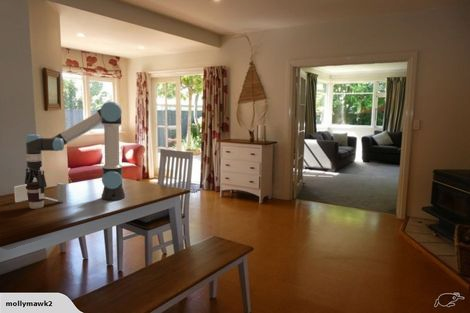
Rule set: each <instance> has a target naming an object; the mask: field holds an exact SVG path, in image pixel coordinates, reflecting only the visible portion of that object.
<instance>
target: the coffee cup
mask: <svg viewBox="0 0 470 313" xmlns="http://www.w3.org/2000/svg"><path fill="white" fill-rule="evenodd" d="M45 188H46V187H44V189H45ZM26 189H27V195H28V200H27V201H28V205H29V208H30V209H32V210H33V209H40V208H44V206H45V205H44V204H45V199H44V198H43V199H39V185H38V182H31V183H29V184H28V185H27V186H26Z"/></svg>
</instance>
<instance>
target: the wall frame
mask: <svg viewBox="0 0 470 313" xmlns="http://www.w3.org/2000/svg"><path fill="white" fill-rule="evenodd" d="M33 182H37V180H36V178H35V177H34V179H33ZM56 189H57V192H56V193H57V199H55V198H51V197H47V196H44V200H45V199H46V200H49V201H53V202H57V203H62V204H65V203H66V202H67V189H66V183H63V182H58V183H56Z"/></svg>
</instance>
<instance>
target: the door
mask: <svg viewBox="0 0 470 313" xmlns="http://www.w3.org/2000/svg"><path fill="white" fill-rule="evenodd" d="M26 186H27V184H25V183H24V184H20V185H16V186H13V190H14V203H21V202H25V201H28V195H27V189H26Z"/></svg>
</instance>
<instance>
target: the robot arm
mask: <svg viewBox="0 0 470 313" xmlns="http://www.w3.org/2000/svg"><path fill="white" fill-rule="evenodd" d="M100 125H102V126H103V127H104V128H103V132H104V133H103V134H104V165H103V166H102V167H101V170H102V173H101V174H102V177H101V182H102V185H103V189H102V193H101V199H102V201H103V200H104V201H111V202H112V201H119V200H123V199H125V198H126V193H125V190H124V188H123V187H124V186H123V166H122V164H120V126H121V125H122V108H121V106H120V105H119V104H118V103H116V102H114V101H106V102H105V103H103V104H102V106H101V107H100V108H99V109H97V110H96V112H95V113H94V114H92V115H90V116H88V117H87V118H85V119H83V120H82V121H80V122H78V123H76V124H74V125H72V126H71V127H69V128H68V129H67V128H66V129H65V130H63V131H62V132H60V133H58V134H57V135H54V136H52V137H48V138H47V137H45V138H44V137H41V134H34V133H33V134H27V135H26V136H25V147H26V148H25V149H26V151H25V152H26V156H25V157H26V168H25V179H24V185H25V184H27V185H28V184H29V183H31V182H33V179H34V178H36V180H37V182H38V185H39V199H43V198H44V197H45V188H47V187H48V186H47V181H46V176H45V170H41V168H42V166H43V162H42V160H43V158H42V151H43V152H44V151H45V152H46V151H49V152H52V151H53V152H61V151H64V148H65V145H67V144H69V143H70V142H73V141H74V140H76V139H78V138H79V137H81V136H83V135H85V134H86V133H88V132H90V131H92V130H93V129H95V128H97V127H98V126H100ZM44 187H45V188H44Z"/></svg>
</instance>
